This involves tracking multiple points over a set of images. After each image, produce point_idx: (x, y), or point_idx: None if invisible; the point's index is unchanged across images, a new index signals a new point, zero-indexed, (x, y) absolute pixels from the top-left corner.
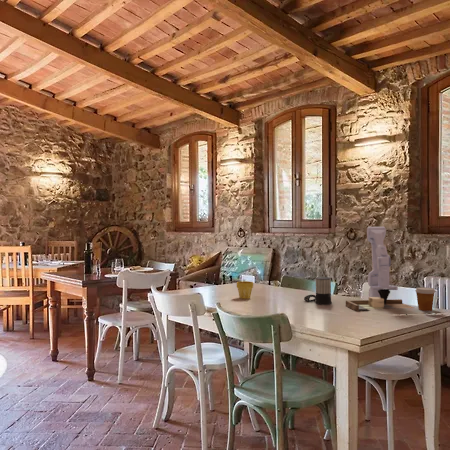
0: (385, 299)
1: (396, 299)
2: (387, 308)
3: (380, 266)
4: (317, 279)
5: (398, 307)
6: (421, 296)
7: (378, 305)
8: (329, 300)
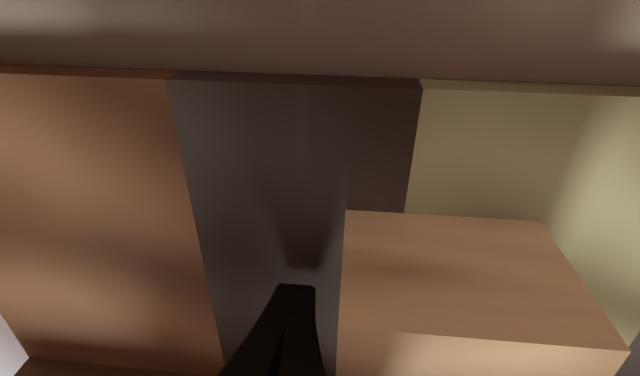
0: (276, 338)
1: None
2: (342, 95)
3: None
4: None
5: (115, 152)
6: None
7: (448, 234)
8: None
